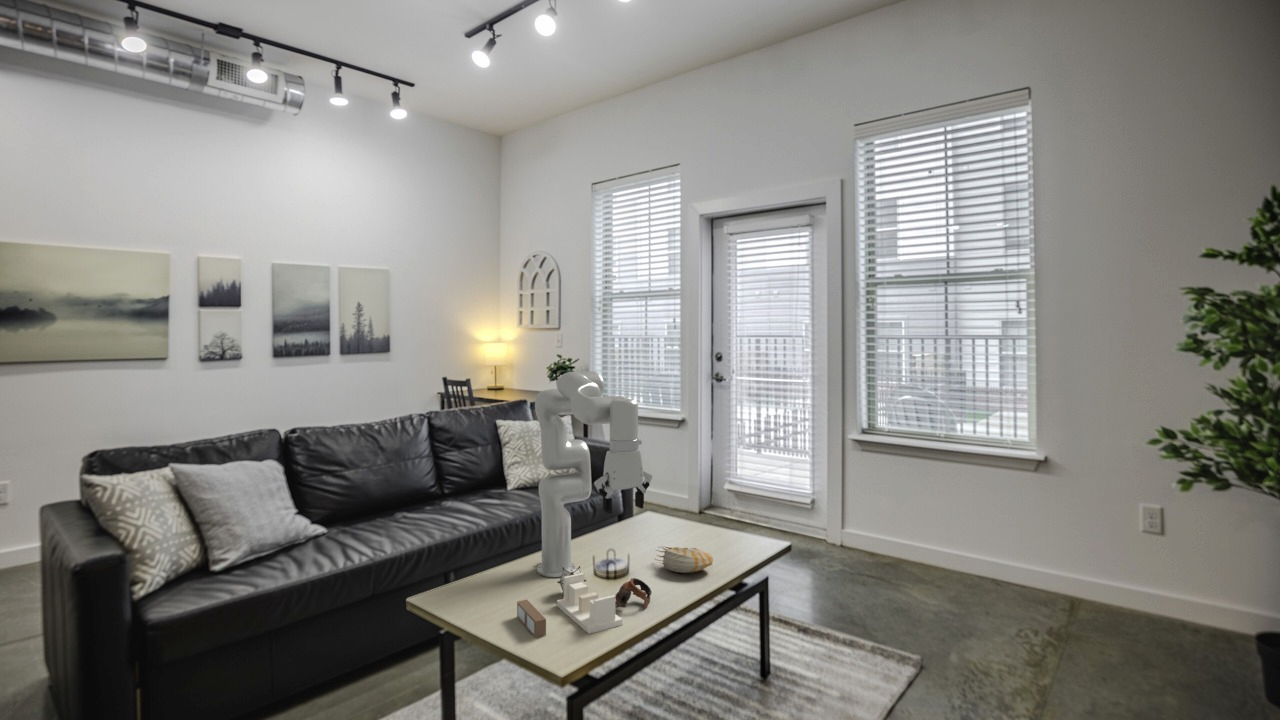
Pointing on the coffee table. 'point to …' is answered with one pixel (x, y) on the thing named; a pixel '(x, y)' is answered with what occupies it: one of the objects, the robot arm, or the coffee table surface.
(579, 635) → the coffee table surface
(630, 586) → the brown curved ringed piece
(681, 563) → the nautilus
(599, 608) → the stand
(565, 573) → the wire frame polyhedron
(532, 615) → the tall brown box
